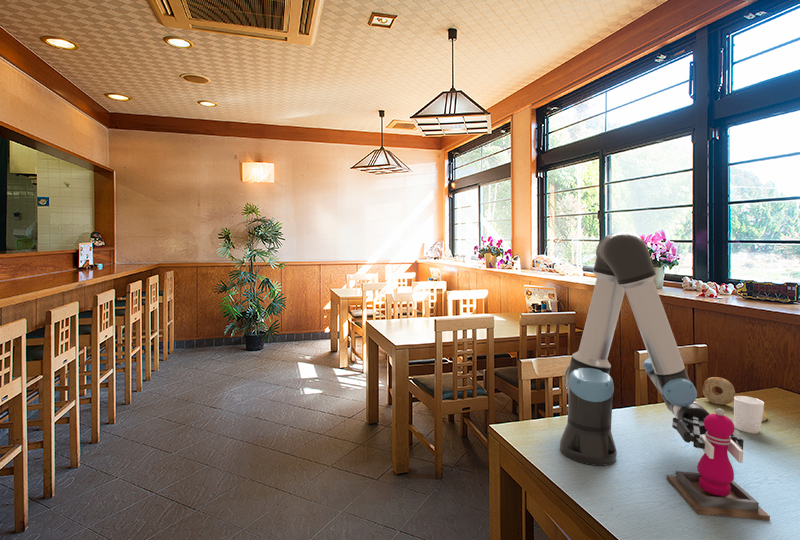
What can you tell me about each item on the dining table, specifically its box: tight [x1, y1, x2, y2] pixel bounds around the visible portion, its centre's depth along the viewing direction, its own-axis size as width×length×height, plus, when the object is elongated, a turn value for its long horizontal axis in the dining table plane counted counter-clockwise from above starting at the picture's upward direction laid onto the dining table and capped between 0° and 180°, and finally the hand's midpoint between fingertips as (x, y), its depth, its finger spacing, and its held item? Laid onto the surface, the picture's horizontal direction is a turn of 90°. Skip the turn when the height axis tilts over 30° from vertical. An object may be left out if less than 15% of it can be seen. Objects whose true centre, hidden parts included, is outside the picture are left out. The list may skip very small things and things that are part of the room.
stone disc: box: [702, 376, 736, 405], centre depth 171 cm, size 10×4×10 cm, turn 39°
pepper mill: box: [697, 407, 736, 496], centre depth 107 cm, size 7×7×20 cm
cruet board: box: [666, 470, 771, 521], centre depth 108 cm, size 15×15×3 cm
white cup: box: [733, 395, 765, 434], centre depth 148 cm, size 8×8×10 cm
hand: (726, 454), depth 102 cm, fingers closed on pepper mill, 5 cm apart
